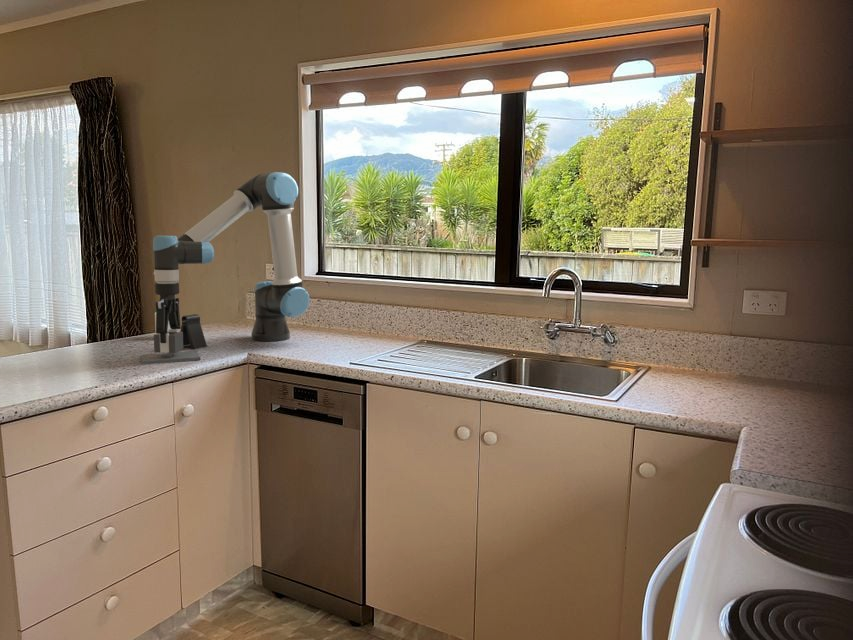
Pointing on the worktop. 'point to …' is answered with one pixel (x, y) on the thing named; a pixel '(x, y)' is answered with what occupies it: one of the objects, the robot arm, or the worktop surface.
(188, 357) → the panel
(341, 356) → the worktop surface
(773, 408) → the worktop surface
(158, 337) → the gray square frame
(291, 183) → the robot arm
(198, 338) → the phone stand
